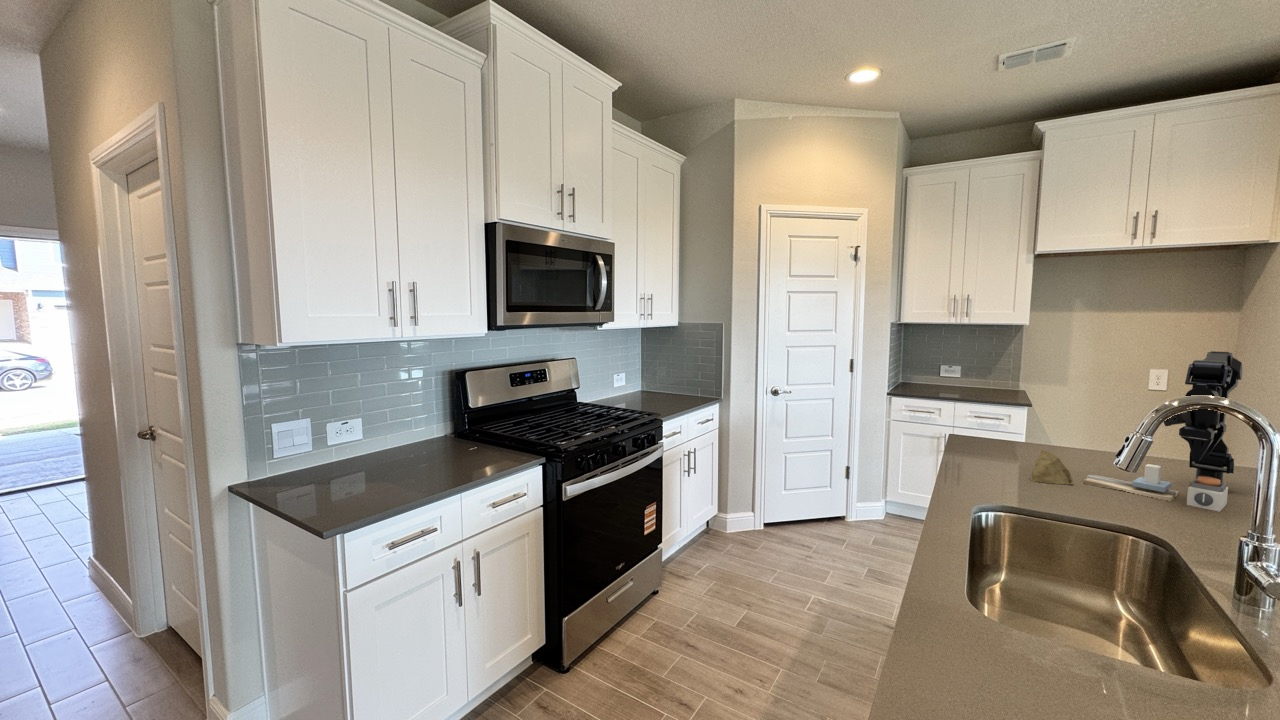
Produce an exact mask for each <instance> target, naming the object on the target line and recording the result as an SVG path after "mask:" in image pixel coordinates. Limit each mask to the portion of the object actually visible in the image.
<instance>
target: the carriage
mask: <svg viewBox="0 0 1280 720" xmlns="http://www.w3.org/2000/svg"><path fill="white" fill-rule="evenodd" d="M1161 474H1162V466H1161V465H1156V464H1150V463H1147V464H1146V465H1144V474H1143V475H1144V476H1139V477H1137V478H1136V479H1134V480H1133V481H1132V482H1133V483H1132V486H1135V487H1140V488H1145V489H1150V490H1155V491H1160V492H1165V491H1167V490H1168V489H1169V490H1170V488H1171V487H1172V482H1170V481H1166V480H1165V481H1164V480H1161Z"/></svg>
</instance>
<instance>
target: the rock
mask: <svg viewBox="0 0 1280 720" xmlns="http://www.w3.org/2000/svg"><path fill="white" fill-rule="evenodd" d="M1032 469H1033V470H1032V474H1031V478H1030V482H1032V481H1033V482H1036V481H1037V482H1036V483H1041V482H1044V483H1043V484H1051V483H1054V485H1055V484H1056V485H1074V479H1073V477H1072V475H1071V474H1072V473H1071V471H1070V470H1069V469H1068V468H1067V467H1066V466H1065V464H1063V462H1062V461H1061V459H1060V458H1059V457H1058V456H1056V455H1055V454H1053V453H1052V452H1050V451H1049V450H1048V451H1047V450H1041V452H1040V453H1039V455H1038V458H1037V460H1036V463H1035V465H1034V467H1033V468H1032Z"/></svg>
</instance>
